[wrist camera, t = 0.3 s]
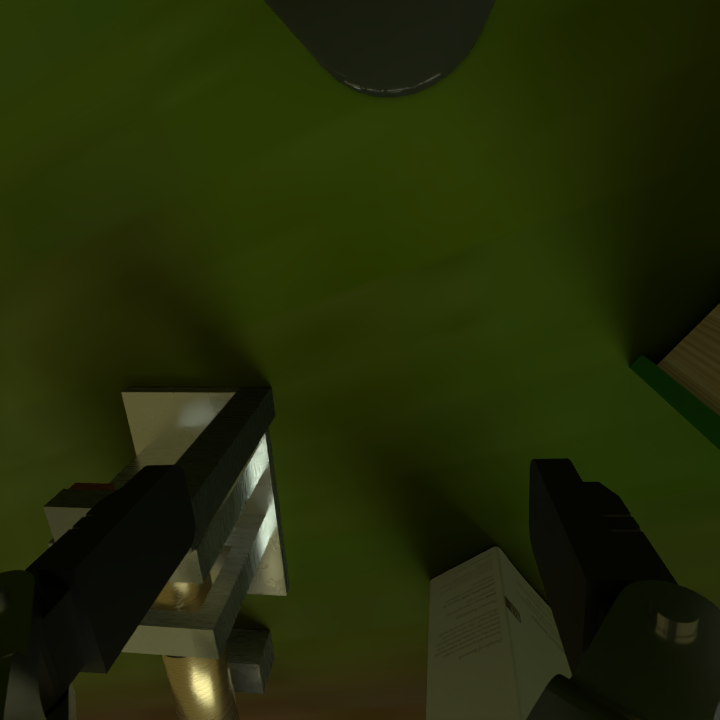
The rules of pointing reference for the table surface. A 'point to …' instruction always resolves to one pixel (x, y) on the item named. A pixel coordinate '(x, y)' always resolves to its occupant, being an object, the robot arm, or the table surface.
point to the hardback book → (691, 376)
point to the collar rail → (206, 518)
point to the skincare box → (489, 642)
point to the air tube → (196, 664)
